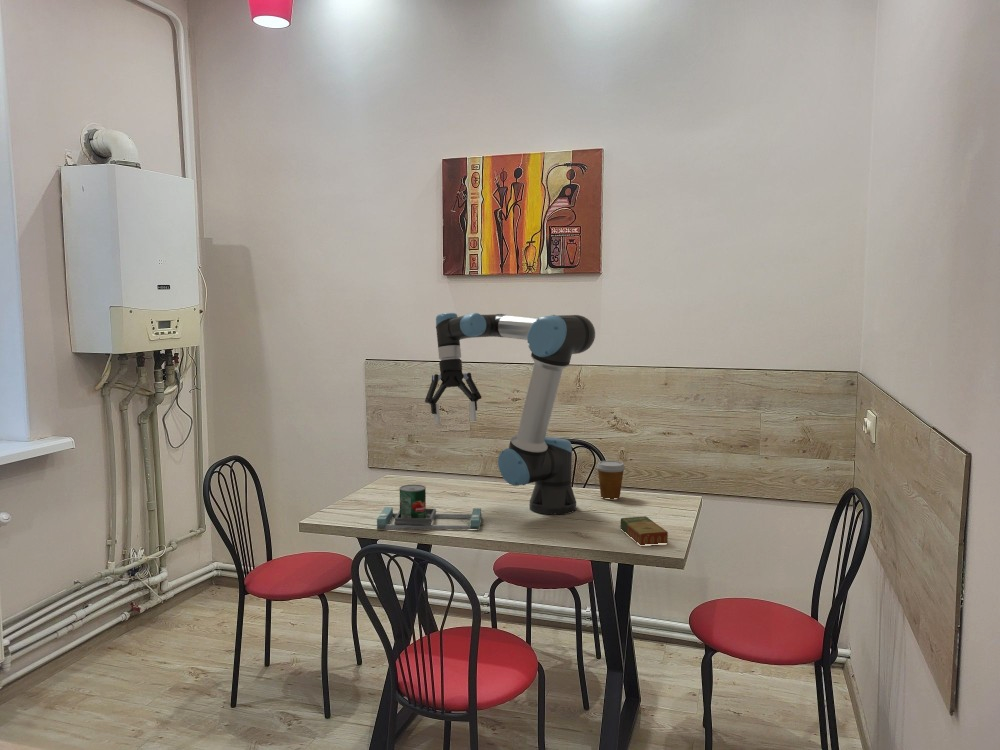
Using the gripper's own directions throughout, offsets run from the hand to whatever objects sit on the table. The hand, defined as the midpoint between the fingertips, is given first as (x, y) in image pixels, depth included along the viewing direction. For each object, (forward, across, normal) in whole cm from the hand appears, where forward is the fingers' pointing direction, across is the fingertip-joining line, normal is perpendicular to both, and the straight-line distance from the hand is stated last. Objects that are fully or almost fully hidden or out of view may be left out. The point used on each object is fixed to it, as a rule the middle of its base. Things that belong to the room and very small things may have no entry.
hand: (455, 422), depth 256 cm
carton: (+38, -27, +57) cm, 74 cm away
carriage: (+28, +23, +13) cm, 39 cm away
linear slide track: (+30, +20, +15) cm, 39 cm away
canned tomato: (+29, +24, +12) cm, 40 cm away
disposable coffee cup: (+30, -46, +20) cm, 59 cm away
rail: (+30, +20, +15) cm, 39 cm away
